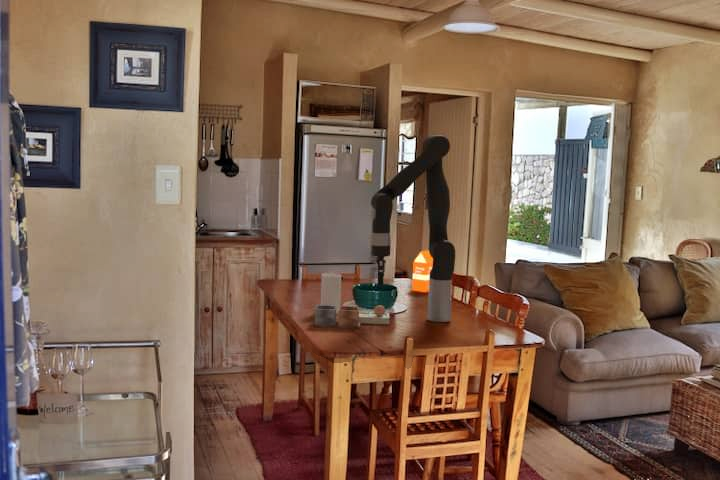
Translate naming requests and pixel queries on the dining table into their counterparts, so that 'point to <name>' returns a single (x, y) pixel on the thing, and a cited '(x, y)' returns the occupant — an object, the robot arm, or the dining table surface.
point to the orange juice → (422, 271)
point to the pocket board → (373, 318)
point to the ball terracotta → (379, 310)
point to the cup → (331, 290)
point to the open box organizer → (346, 319)
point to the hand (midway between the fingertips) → (380, 284)
